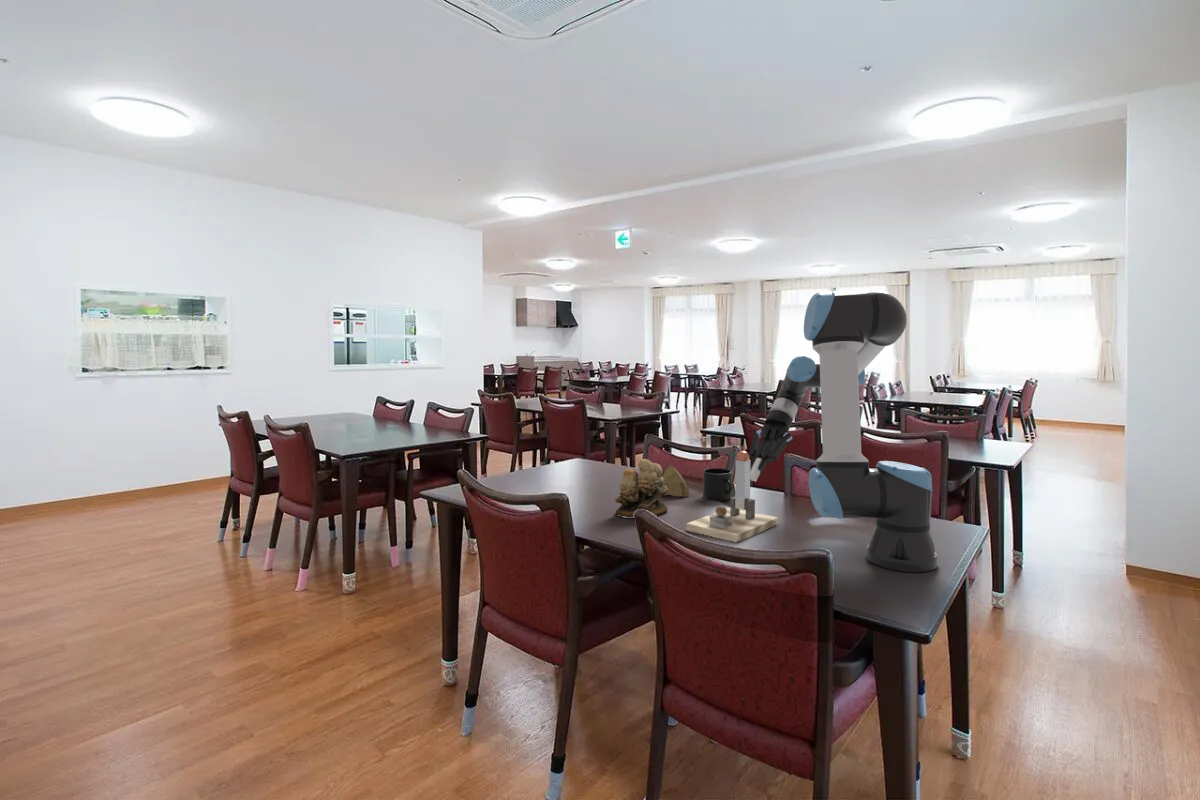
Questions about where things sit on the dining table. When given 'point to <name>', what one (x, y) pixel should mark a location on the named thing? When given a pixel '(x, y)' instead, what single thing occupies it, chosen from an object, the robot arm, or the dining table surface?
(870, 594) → the dining table surface
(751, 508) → the tan bracket base plate
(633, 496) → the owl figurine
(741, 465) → the lever
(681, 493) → the rock
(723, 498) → the mug
